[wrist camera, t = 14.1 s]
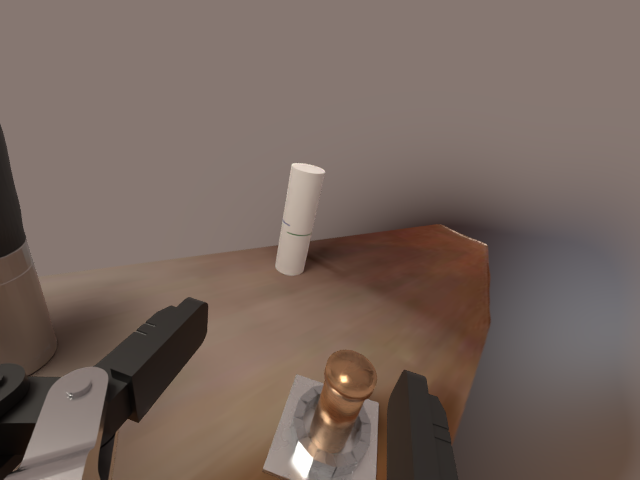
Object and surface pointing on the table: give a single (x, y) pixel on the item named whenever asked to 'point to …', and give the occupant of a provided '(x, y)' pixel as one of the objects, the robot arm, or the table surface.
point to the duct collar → (303, 455)
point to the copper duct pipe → (341, 399)
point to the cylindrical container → (298, 217)
